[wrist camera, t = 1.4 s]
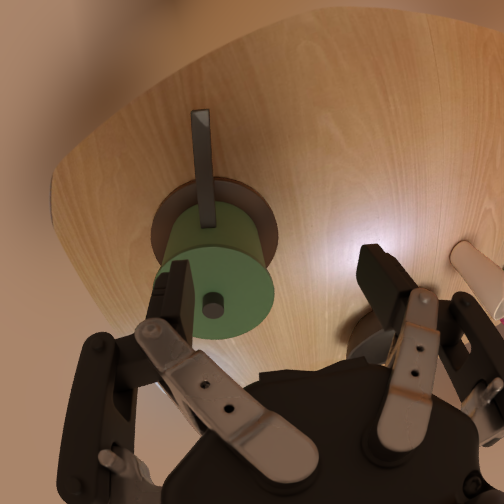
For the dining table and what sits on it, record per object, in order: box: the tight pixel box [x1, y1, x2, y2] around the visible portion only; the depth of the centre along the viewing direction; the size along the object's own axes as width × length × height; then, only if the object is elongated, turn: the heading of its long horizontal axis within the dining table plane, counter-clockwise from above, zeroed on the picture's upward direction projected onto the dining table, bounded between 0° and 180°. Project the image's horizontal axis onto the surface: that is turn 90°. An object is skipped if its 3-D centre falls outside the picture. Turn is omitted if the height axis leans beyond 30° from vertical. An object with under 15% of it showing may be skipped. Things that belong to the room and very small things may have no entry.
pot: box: [153, 109, 274, 340], centre depth 28 cm, size 22×12×12 cm, turn 1°
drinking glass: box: [450, 241, 504, 320], centre depth 37 cm, size 7×7×15 cm
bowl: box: [346, 311, 395, 365], centre depth 47 cm, size 12×22×6 cm, turn 110°
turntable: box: [151, 177, 278, 268], centre depth 37 cm, size 16×16×1 cm
